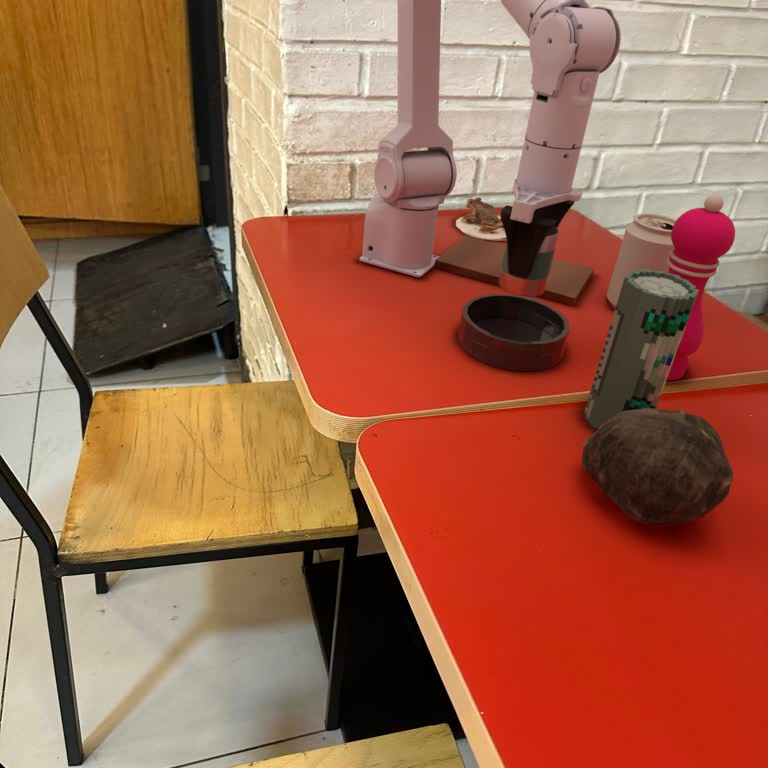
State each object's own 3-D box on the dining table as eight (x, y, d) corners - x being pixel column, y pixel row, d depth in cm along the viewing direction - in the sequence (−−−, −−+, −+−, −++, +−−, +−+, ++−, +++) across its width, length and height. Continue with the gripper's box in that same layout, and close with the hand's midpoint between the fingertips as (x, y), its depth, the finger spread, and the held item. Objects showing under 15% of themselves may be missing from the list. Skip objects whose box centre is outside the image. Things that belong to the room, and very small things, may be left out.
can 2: (638, 447, 66) (690, 305, 58) (577, 423, 68) (618, 284, 60) (653, 418, 70) (703, 282, 62) (595, 396, 73) (636, 263, 65)
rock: (591, 433, 65) (633, 352, 59) (708, 493, 62) (766, 415, 55) (552, 499, 59) (593, 416, 52) (680, 571, 55) (743, 493, 48)
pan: (442, 350, 78) (446, 322, 76) (478, 310, 88) (483, 284, 86) (546, 383, 74) (554, 355, 72) (573, 337, 84) (580, 311, 82)
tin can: (491, 288, 77) (503, 228, 74) (506, 272, 81) (518, 215, 78) (537, 301, 76) (552, 240, 72) (550, 284, 80) (564, 226, 76)
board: (433, 267, 98) (435, 259, 97) (463, 242, 107) (465, 235, 106) (573, 306, 91) (575, 297, 91) (592, 276, 100) (594, 268, 100)
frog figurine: (438, 223, 113) (441, 200, 111) (485, 211, 121) (489, 189, 119) (492, 246, 107) (496, 222, 105) (538, 232, 114) (543, 210, 112)
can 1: (665, 323, 89) (696, 235, 83) (606, 314, 90) (632, 225, 84) (658, 299, 95) (686, 215, 89) (602, 290, 96) (627, 206, 90)
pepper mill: (687, 359, 82) (751, 192, 71) (689, 389, 76) (759, 212, 65) (624, 345, 83) (678, 179, 72) (622, 373, 77) (679, 197, 67)
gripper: (575, 165, 63) (543, 299, 70) (606, 136, 74) (575, 255, 81) (501, 149, 65) (478, 281, 73) (543, 124, 76) (518, 240, 84)
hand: (525, 266), depth 77 cm, fingers closed on tin can, 5 cm apart
